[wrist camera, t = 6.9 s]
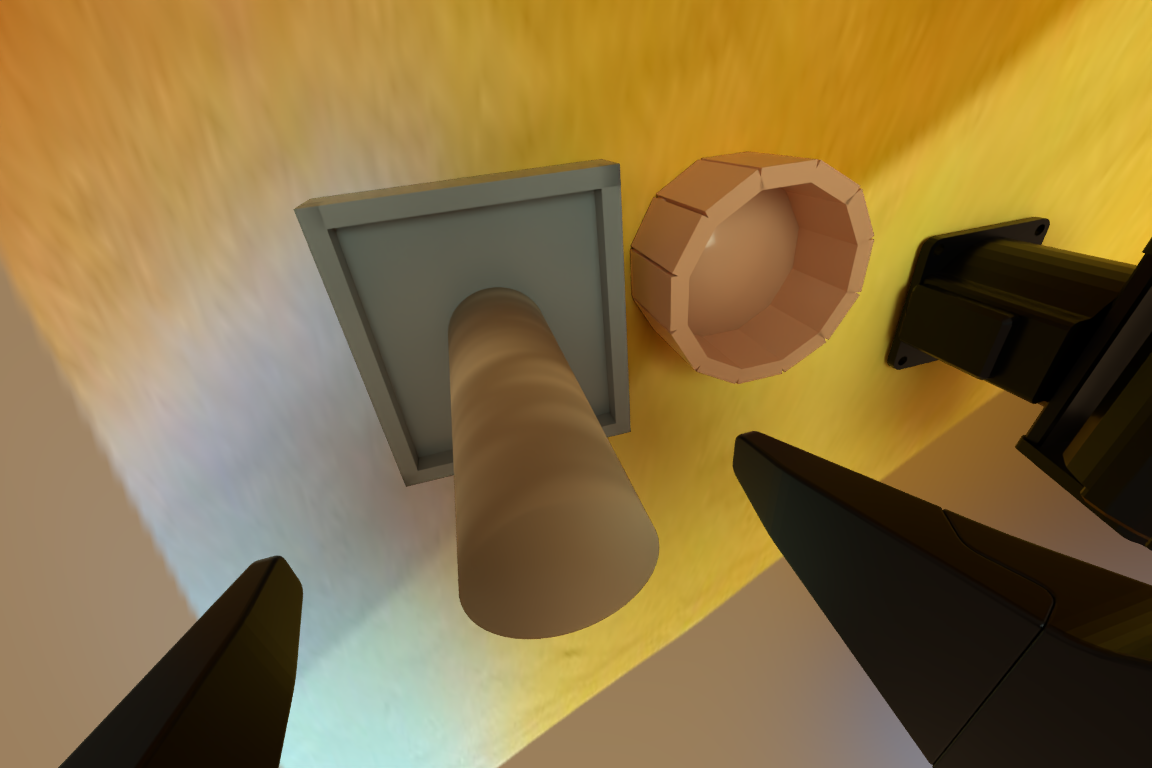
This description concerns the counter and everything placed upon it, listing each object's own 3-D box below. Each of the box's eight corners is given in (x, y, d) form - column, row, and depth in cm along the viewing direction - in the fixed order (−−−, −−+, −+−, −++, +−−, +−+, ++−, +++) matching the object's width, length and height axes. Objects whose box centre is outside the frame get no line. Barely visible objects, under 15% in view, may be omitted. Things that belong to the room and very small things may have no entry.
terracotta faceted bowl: (815, 142, 16) (897, 147, 13) (785, 323, 20) (844, 358, 17) (627, 168, 15) (672, 181, 12) (633, 356, 19) (669, 400, 16)
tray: (601, 159, 15) (619, 163, 13) (616, 408, 20) (630, 431, 19) (310, 199, 13) (293, 209, 12) (408, 456, 19) (406, 486, 17)
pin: (538, 279, 15) (658, 474, 7) (551, 366, 17) (659, 604, 9) (436, 297, 15) (433, 534, 6) (460, 385, 16) (483, 660, 8)
